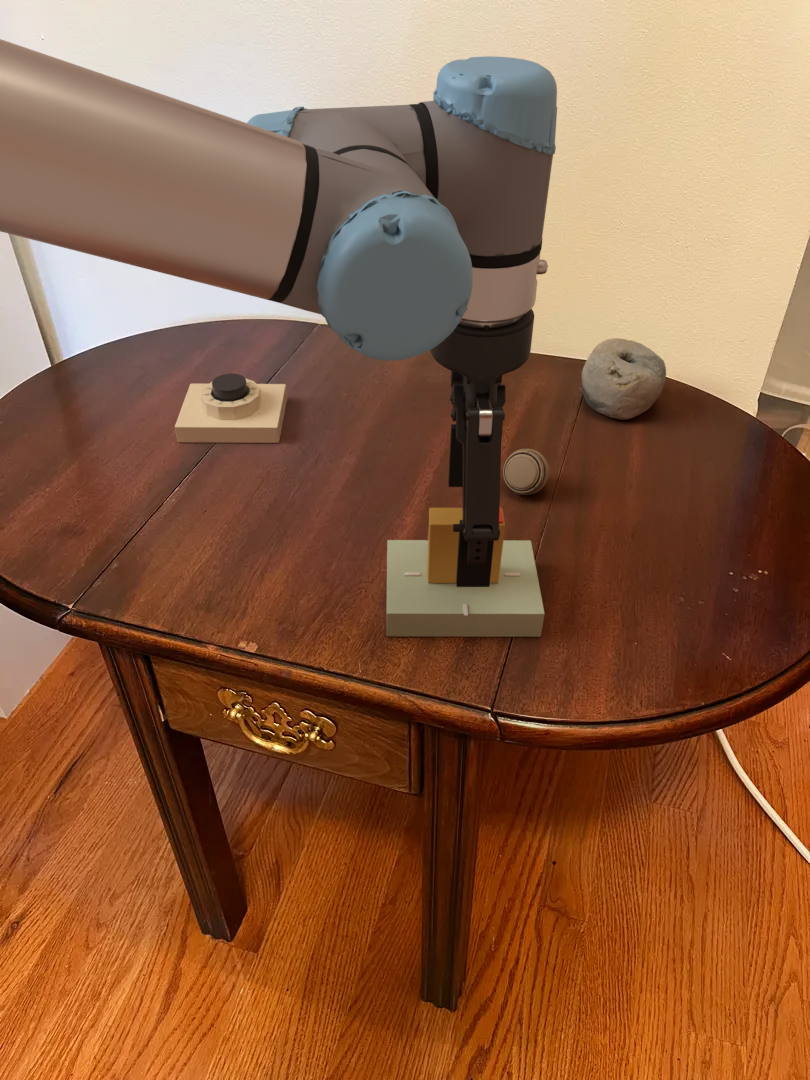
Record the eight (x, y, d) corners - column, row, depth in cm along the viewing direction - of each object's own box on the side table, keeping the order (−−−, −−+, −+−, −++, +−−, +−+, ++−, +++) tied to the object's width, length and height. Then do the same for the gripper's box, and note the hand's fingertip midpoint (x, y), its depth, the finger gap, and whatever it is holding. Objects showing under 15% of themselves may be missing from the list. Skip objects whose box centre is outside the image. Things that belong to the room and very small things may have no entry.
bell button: (211, 403, 99) (209, 390, 98) (216, 385, 102) (214, 373, 101) (245, 403, 99) (243, 390, 98) (249, 386, 102) (248, 373, 101)
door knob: (496, 479, 94) (499, 442, 91) (538, 474, 95) (543, 437, 92) (508, 506, 90) (513, 468, 87) (552, 501, 91) (558, 463, 88)
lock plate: (386, 639, 75) (386, 615, 73) (387, 560, 84) (387, 536, 82) (541, 639, 76) (545, 615, 74) (527, 560, 84) (530, 536, 82)
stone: (551, 374, 104) (604, 309, 103) (586, 409, 112) (637, 350, 110) (604, 412, 98) (662, 343, 96) (638, 447, 105) (692, 384, 104)
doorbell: (177, 442, 99) (171, 413, 96) (192, 398, 106) (188, 370, 104) (279, 443, 99) (276, 414, 96) (287, 398, 107) (284, 370, 104)
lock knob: (427, 583, 77) (430, 522, 72) (426, 565, 78) (429, 505, 74) (498, 583, 77) (505, 522, 72) (496, 565, 79) (502, 505, 74)
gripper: (560, 395, 51) (526, 634, 65) (516, 239, 70) (496, 450, 84) (437, 395, 51) (429, 634, 65) (426, 239, 70) (421, 450, 84)
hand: (467, 531), depth 74 cm, fingers open, 13 cm apart
